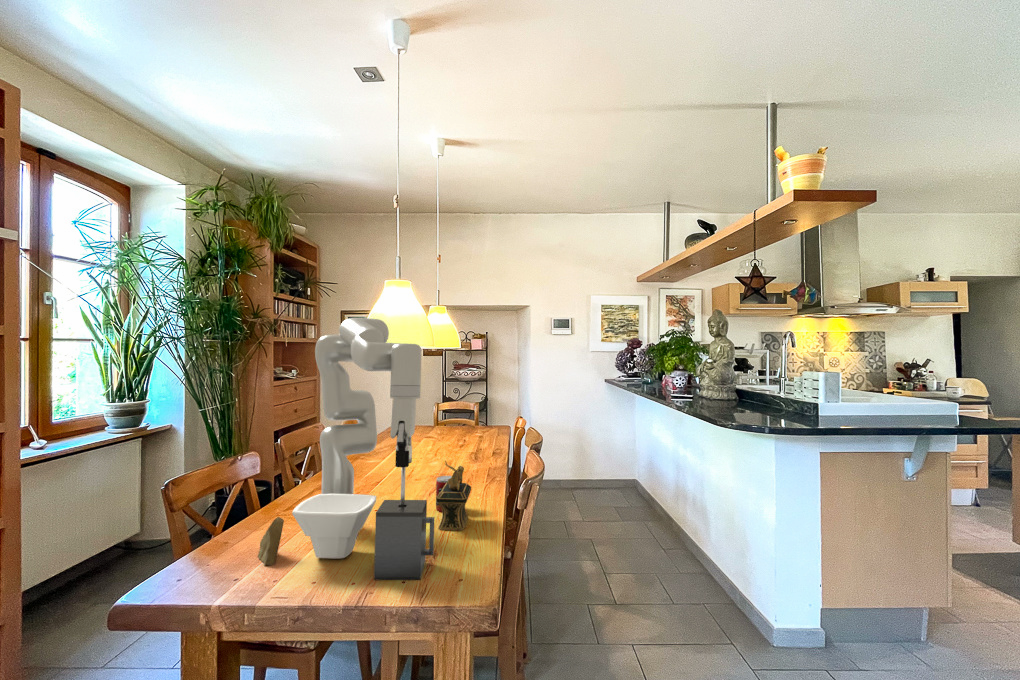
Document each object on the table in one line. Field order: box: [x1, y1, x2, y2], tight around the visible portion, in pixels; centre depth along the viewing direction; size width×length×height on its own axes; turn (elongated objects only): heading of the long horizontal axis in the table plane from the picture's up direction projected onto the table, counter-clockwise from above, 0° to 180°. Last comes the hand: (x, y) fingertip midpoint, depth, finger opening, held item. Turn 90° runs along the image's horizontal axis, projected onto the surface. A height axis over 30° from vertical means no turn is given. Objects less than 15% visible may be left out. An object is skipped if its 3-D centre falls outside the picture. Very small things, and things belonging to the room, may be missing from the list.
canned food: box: [435, 475, 452, 513], centre depth 181 cm, size 8×8×11 cm
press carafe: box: [373, 499, 435, 581], centre depth 129 cm, size 14×11×16 cm
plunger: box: [400, 444, 413, 507], centre depth 130 cm, size 9×9×20 cm
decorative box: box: [435, 460, 472, 531], centre depth 165 cm, size 20×10×20 cm, turn 179°
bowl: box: [291, 493, 377, 559], centre depth 138 cm, size 19×19×14 cm
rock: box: [257, 516, 285, 566], centre depth 135 cm, size 11×9×10 cm
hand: (403, 464), depth 130 cm, fingers closed on plunger, 4 cm apart
